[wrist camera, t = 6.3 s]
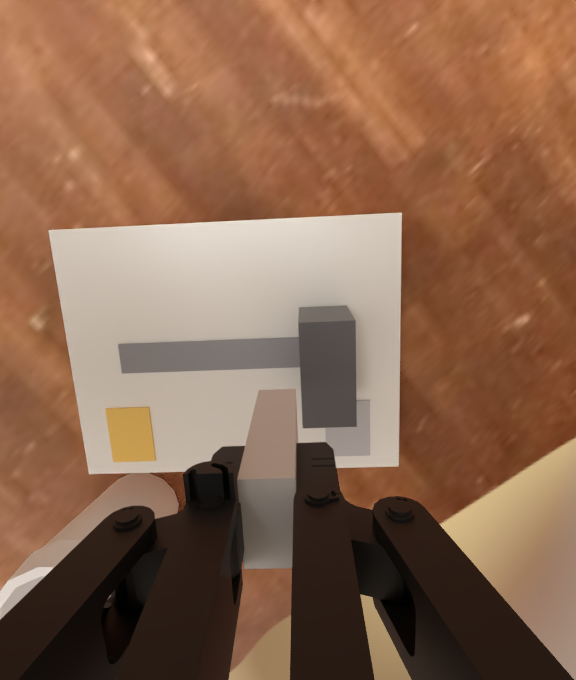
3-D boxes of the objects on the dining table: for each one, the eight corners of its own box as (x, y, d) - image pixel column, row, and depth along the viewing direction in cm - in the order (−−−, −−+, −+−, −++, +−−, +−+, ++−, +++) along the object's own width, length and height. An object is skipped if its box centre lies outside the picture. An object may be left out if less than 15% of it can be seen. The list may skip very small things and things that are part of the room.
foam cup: (162, 439, 38) (91, 543, 25) (215, 525, 39) (173, 663, 27) (70, 482, 39) (-43, 602, 26) (125, 564, 41) (44, 713, 28)
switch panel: (92, 230, 34) (46, 230, 28) (384, 216, 33) (402, 212, 27) (122, 437, 38) (87, 475, 32) (383, 429, 37) (399, 467, 31)
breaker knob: (299, 307, 28) (298, 322, 23) (346, 305, 28) (355, 320, 23) (302, 396, 30) (302, 428, 25) (347, 394, 29) (356, 426, 25)
